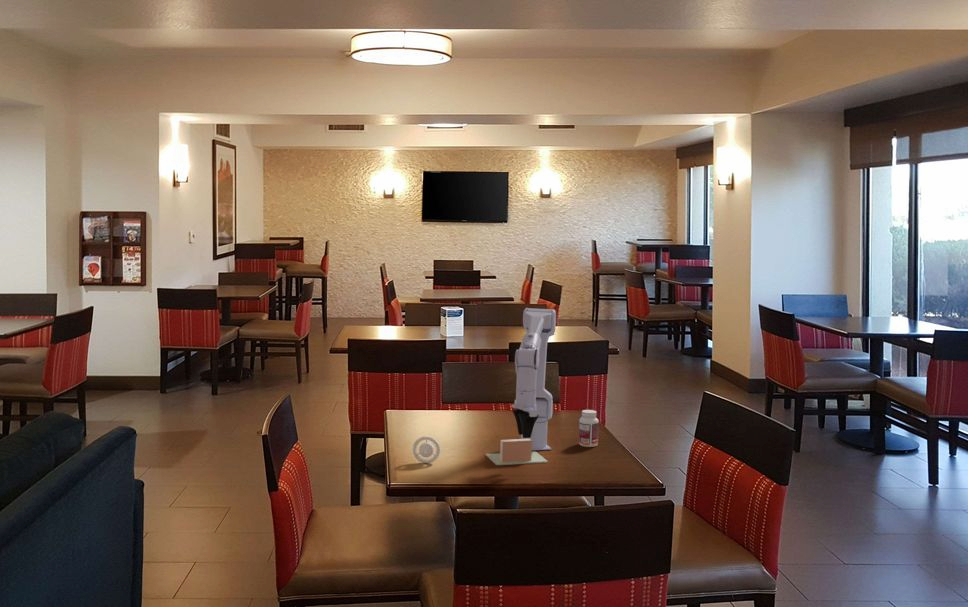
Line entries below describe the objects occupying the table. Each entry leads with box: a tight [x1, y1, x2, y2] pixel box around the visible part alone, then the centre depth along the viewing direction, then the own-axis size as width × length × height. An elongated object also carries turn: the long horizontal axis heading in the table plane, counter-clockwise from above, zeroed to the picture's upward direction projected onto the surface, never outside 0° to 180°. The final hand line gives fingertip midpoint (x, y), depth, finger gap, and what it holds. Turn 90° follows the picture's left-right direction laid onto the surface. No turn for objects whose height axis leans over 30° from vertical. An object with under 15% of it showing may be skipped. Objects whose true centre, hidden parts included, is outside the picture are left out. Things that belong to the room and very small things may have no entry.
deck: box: [499, 438, 533, 462], centre depth 266 cm, size 2×9×6 cm, turn 106°
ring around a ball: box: [412, 436, 441, 464], centre depth 261 cm, size 8×6×8 cm
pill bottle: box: [578, 409, 600, 448], centre depth 288 cm, size 6×6×11 cm
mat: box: [485, 451, 549, 466], centre depth 270 cm, size 11×16×1 cm
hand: (524, 436), depth 259 cm, fingers open, 3 cm apart
